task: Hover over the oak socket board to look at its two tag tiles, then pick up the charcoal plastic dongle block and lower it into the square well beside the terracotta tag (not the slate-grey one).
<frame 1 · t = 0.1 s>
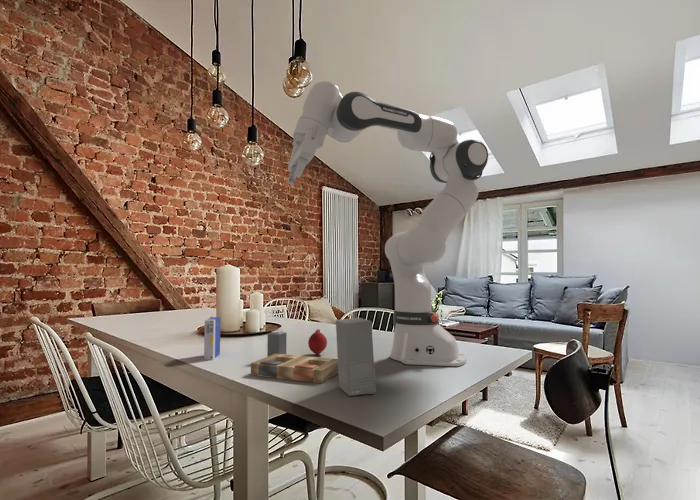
hand: (293, 180, 109), 52 cm above the table, tool tilted 20°, fingers open, 8 cm apart
socket board: (296, 372, 102), on the table
walkman: (212, 357, 120), on the table
skincare box: (354, 391, 88), on the table
onion: (317, 355, 123), on the table
plug: (276, 360, 115), on the table
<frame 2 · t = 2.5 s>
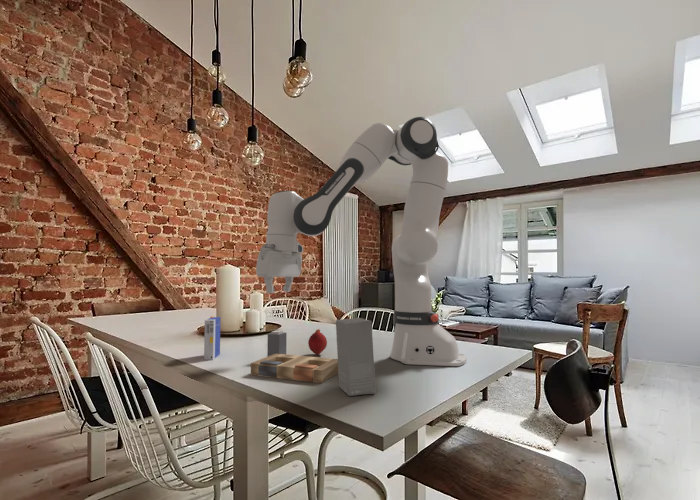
hand: (278, 292, 115), 20 cm above the table, tool pointing down, fingers open, 8 cm apart
nothing on the table moved.
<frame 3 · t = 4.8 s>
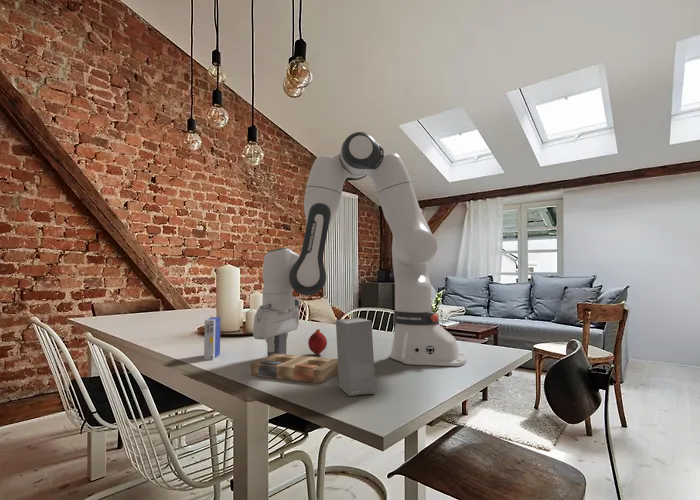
hand: (277, 349, 116), 3 cm above the table, tool pointing down, fingers closed on plug, 4 cm apart
plug: (276, 360, 115), on the table, touching gripper
everything else where it was.
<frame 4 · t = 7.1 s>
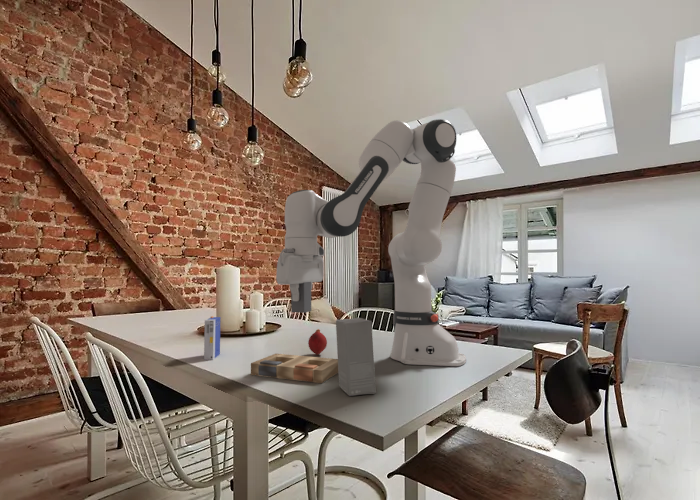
hand: (301, 300, 106), 19 cm above the table, tool pointing down, fingers closed on plug, 4 cm apart
plug: (301, 311, 106), point 15 cm above the table, touching gripper
everything else where it was.
when the fingers open (5 cm above the table, at t = 9.9 s): plug drops 2 cm, resting in socket board.
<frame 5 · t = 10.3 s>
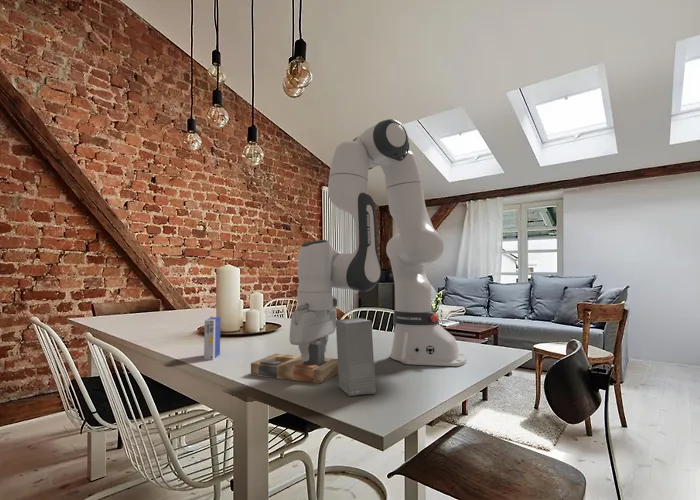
hand: (314, 356, 100), 5 cm above the table, tool pointing down, fingers open, 8 cm apart
plug: (314, 374, 100), resting in socket board
everything else where it was.
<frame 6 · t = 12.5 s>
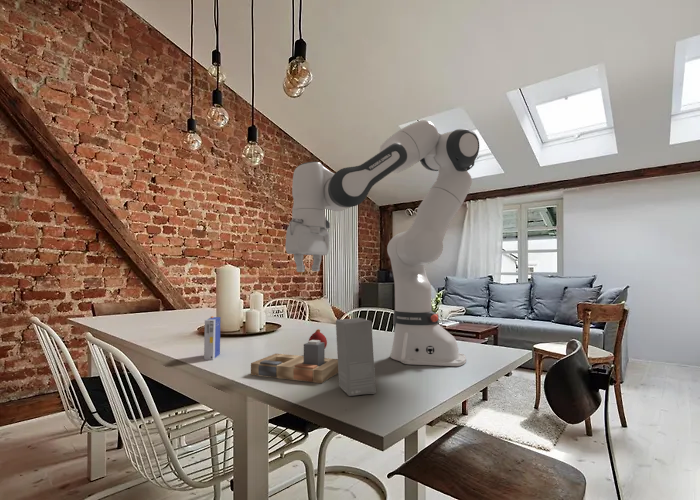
hand: (308, 271, 107), 26 cm above the table, tool pointing down, fingers open, 8 cm apart
nothing on the table moved.
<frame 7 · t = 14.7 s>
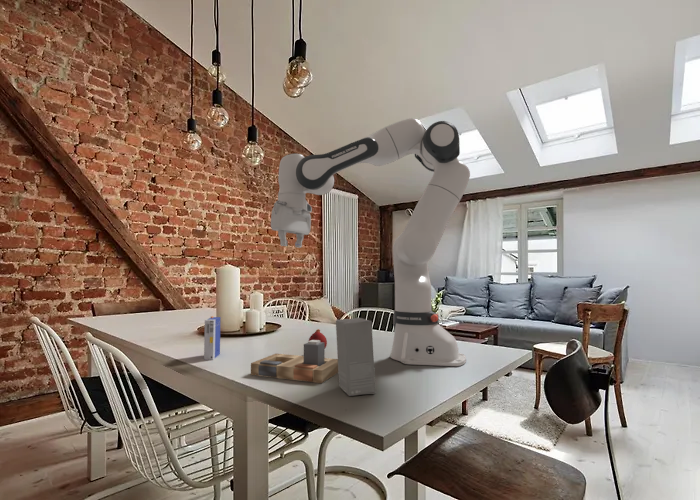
hand: (291, 246, 127), 34 cm above the table, tool pointing down, fingers open, 8 cm apart
nothing on the table moved.
at the end: plug 0.1 cm from the target spot on the socket board, point 0.0 cm above the socket board's base; plug tilted 0°; the gripper is holding nothing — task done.
